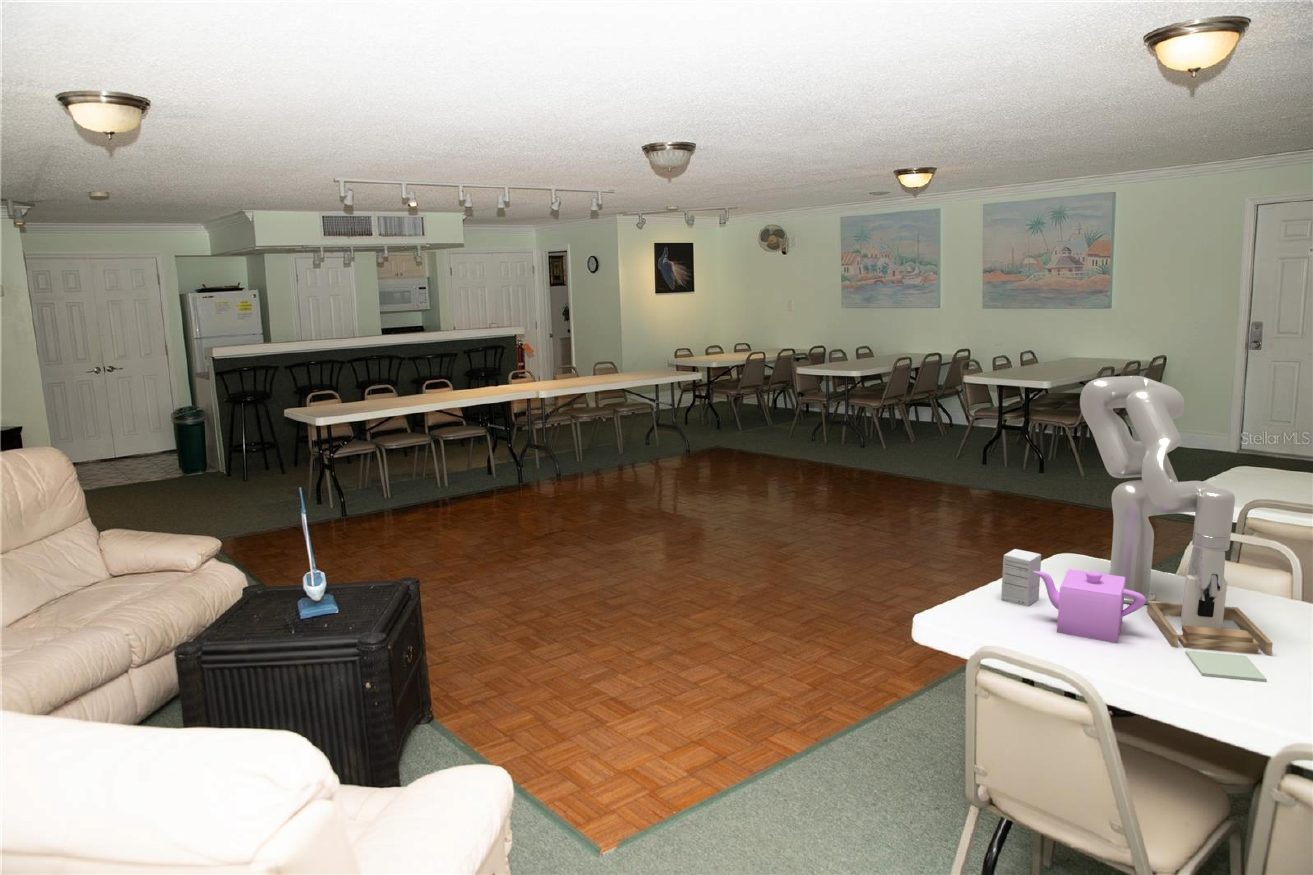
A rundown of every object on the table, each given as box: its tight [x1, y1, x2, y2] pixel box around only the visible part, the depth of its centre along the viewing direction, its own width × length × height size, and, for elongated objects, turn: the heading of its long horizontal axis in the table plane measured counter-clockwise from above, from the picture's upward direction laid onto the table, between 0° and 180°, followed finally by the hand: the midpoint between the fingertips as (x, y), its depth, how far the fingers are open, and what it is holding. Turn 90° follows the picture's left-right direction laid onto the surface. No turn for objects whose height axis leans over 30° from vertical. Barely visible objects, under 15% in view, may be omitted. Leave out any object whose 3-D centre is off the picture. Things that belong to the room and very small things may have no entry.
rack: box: [1146, 600, 1273, 656], centre depth 210 cm, size 20×22×3 cm
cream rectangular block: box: [1180, 574, 1228, 629], centre depth 212 cm, size 8×3×12 cm, turn 74°
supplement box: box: [1000, 548, 1042, 607], centre depth 233 cm, size 7×7×13 cm
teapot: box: [1033, 568, 1146, 644], centre depth 214 cm, size 15×25×14 cm, turn 58°
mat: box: [1184, 649, 1268, 682], centre depth 192 cm, size 12×12×1 cm
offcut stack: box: [1178, 624, 1260, 655], centre depth 202 cm, size 15×5×4 cm, turn 74°
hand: (1202, 612), depth 212 cm, fingers closed on cream rectangular block, 3 cm apart
